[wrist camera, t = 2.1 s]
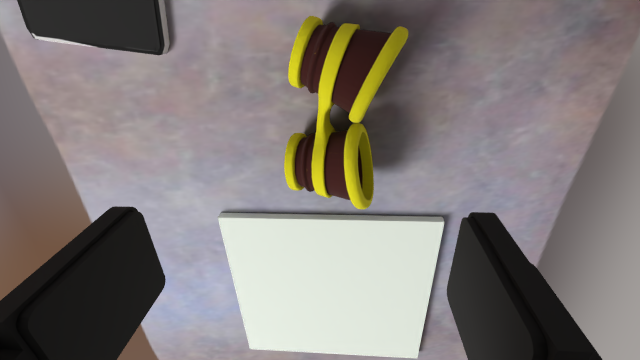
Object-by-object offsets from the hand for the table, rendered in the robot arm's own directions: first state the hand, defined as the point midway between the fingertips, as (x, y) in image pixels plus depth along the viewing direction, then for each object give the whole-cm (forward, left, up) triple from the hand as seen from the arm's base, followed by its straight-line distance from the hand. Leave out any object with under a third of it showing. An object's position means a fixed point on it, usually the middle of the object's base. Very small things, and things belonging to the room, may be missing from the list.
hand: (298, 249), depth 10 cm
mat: (+15, 0, -12) cm, 19 cm away
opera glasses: (-1, +1, -12) cm, 12 cm away
